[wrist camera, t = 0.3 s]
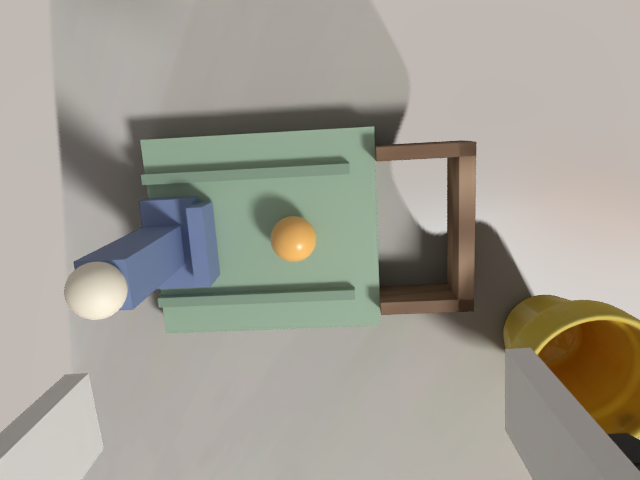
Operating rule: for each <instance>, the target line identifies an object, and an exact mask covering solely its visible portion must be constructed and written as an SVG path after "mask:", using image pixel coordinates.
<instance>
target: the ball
mask: <svg viewBox="0 0 640 480" xmlns="http://www.w3.org/2000/svg"><path fill="white" fill-rule="evenodd" d="M270 241H271V246H272V248H273V250H274V252H275V253H276V255H277V256H278V257H280V258H281V259H283V260H285V261H288V262H299V261H302V260H304V259H306V258H307V257H309V256H310V255H311V253H312V252H313V250H314V248H315V246H316V232H315V230H314V228H313V226H312V225H311V224H310V223H309V222H308V221H307V220H305V219H304V218H301V217H298V216H289V217H286V218H283V219H281V220H280V221H279V222H278V223H277V224H276V225H275V226H274V228H273V230H272V232H271V237H270Z"/></svg>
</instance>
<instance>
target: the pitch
mask: <svg viewBox="0 0 640 480" xmlns="http://www.w3.org/2000/svg"><path fill="white" fill-rule="evenodd" d="M140 143H141V150H142V158H143V165H144V173H145V174H142V175H141V181H142V185H146V188H147V195H148V198H164V197H184V196H197V202H211V201H212V202H213V211H214V221H215V230H216V240H217V249H218V259H219V268H220V276H219V277H218V278H217V279H216V281H215V282H214V283H213V284H212V286H211V287H196V288H172V289H160V292H161V295H160V296H159V297H158V298H157V299H158V306H159V308H162V307H163V315H164V322H165V329H166V333H189V332H216V331H242V330H268V329H295V328H321V327H347V326H374V325H380V296H379V263H378V231H377V199H376V166H375V134H374V127H356V128H339V129H322V130H304V131H287V132H270V133H252V134H235V135H217V136H200V137H183V138H165V139H148V140H140ZM289 216H298V217H301V218H304V219H305V220H307V221H308V222H309V223H310V224H311V225H312V226H313V228H314V230H315V232H316V246H315V248H314V250H313V252H312V253H311V255H310V256H309V257H307V258H306V259H304V260H302V261H299V262H288V261H285V260H283V259H281V258H280V257H278V256H277V255H276V253H275V252H274V250H273V248H272V246H271V241H270V237H271V232H272V230H273V228H274V226H275V225H276V224H277V223H278V222H279V221H280V220H281V219H283V218H286V217H289Z"/></svg>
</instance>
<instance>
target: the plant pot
mask: <svg viewBox="0 0 640 480" xmlns="http://www.w3.org/2000/svg"><path fill="white" fill-rule="evenodd" d="M503 337H504V343H505V347H506V349H515V348H531V349H532V350H533V351H534V352H535V353H536V354H537V355H538V356H539V358H540V359H541V360H542V361H543V362H544V363H545V364H546V366H547V367H548V368H549V369H550V370H551V371H552V372H553V374H554V375H555V376H556V377H557V378H558V379H559V380H560V381H561V383H562V384H563V385H564V386H565V387H566V388H567V389H568V391H569V392H570V393H571V394H572V395H573V396H574V397H575V398H576V400H577V401H578V402H579V403H580V404H581V405H582V406H583V408H584V409H585V410H586V411H587V412H588V413H589V414H590V416H591V417H592V418H593V419H594V420H595V421H596V422H597V423H598V425H599V426H600V427H601V428H602V429H603V430H604V431H605V433H606V434H615V433H628V434H630V435H632V436H634V437H635V438H638V437H640V320H638V319H637V318H635V317H633V316H632V315H629V314H628V313H626V312H624V311H622V310H620V309H618V308H616V307H614V306H612V305H609V304H606V303H603V302H598V301H591V300H575V301H571V300H567V299H564V298H560V297H557V296H552V295H538V296H533V297H530V298H527V299H525V300H523V301H522V302H520V303H519V304H518V305H517V306H515V307H514V309H513V310H512V311H511V312H510V314H509V315H508V317H507V319H506V322H505V325H504V330H503Z"/></svg>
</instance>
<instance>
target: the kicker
mask: <svg viewBox="0 0 640 480" xmlns="http://www.w3.org/2000/svg"><path fill="white" fill-rule="evenodd" d="M139 206H140V213H141V220H142V228H140V229H138V230H136V231H134V232H132V233H130V234H128V235H126V236H124V237H122V238H120V239H118V240H116V241H114V242H112V243H110V244H108V245H106V246H104V247H102V248H100V249H98V250H96V251H94V252H92V253H90V254H88V255H86V256H84V257H82V258H80V259H78V260H76V261H74V267H75V270H74V271H73V272H72V273H71V274H70V276H69V277H68V279H67V281H66V284H65V289H64V295H65V300H66V302H67V304H68V306H69V308H70V309H71V310H72V311H73V312H74V313H76V314H77V315H79V316H80V317H83V318H86V319H92V320H97V319H103V318H107V317H109V316H111V315H113V314H114V313H116V312H117V311H118V310H133V309H134V308H135V307H137V306H138V305H139V304H140V303H141V302H142V301H143V300H144V299H146V298H147V297H148V296H149V295H150V294H151V293H152V292H154V291H155V290H156V289H172V288H196V287H211V286H212V284H213V283H214V282H215V281H216V279H217V278H218V277H219V276H220V268H219V259H218V249H217V240H216V230H215V221H214V211H213V202H212V201H211V202H197V196H184V197H164V198H146V199H143V200H141V201H139Z"/></svg>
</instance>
